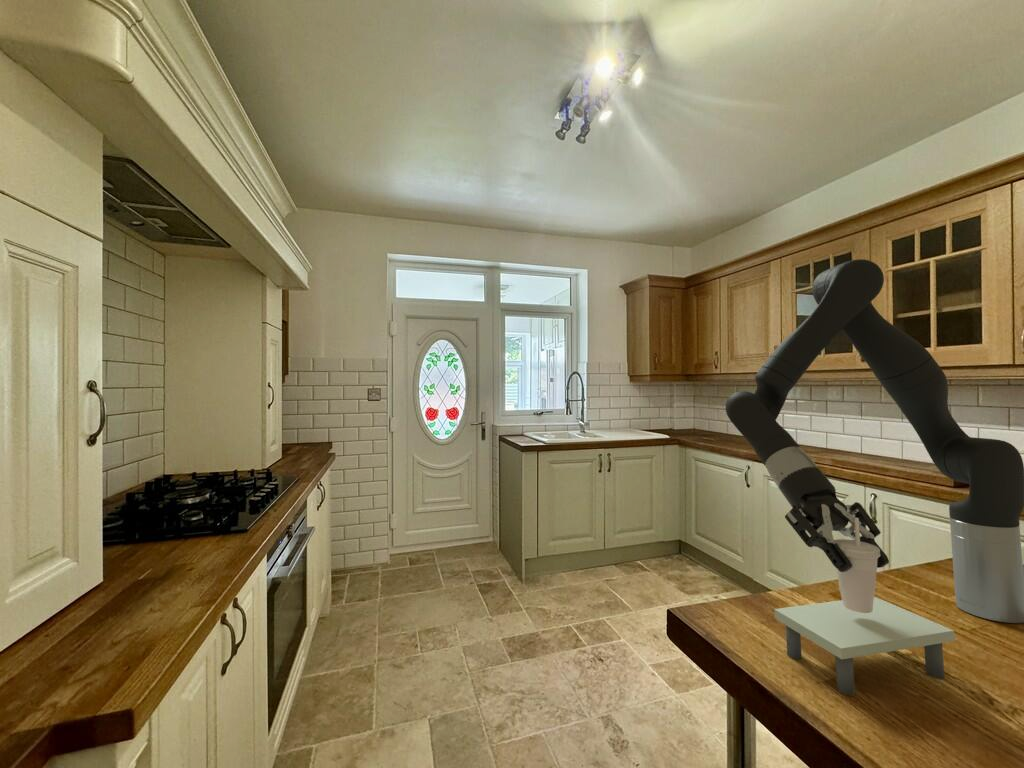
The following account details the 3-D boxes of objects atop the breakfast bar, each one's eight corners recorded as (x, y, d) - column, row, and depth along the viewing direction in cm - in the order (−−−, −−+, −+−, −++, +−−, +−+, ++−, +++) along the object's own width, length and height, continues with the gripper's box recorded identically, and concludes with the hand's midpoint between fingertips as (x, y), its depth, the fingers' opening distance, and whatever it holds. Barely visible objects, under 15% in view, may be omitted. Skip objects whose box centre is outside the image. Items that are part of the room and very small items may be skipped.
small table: (875, 636, 76) (873, 596, 77) (957, 679, 64) (954, 630, 65) (776, 652, 72) (774, 609, 73) (844, 700, 61) (841, 648, 61)
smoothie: (894, 618, 65) (888, 524, 66) (845, 615, 67) (840, 523, 67) (868, 599, 72) (863, 513, 72) (824, 596, 73) (820, 512, 73)
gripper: (774, 467, 76) (841, 560, 64) (843, 463, 79) (921, 551, 66) (753, 492, 81) (812, 583, 69) (819, 487, 84) (887, 573, 71)
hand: (865, 567), depth 68 cm, fingers closed on smoothie, 6 cm apart
